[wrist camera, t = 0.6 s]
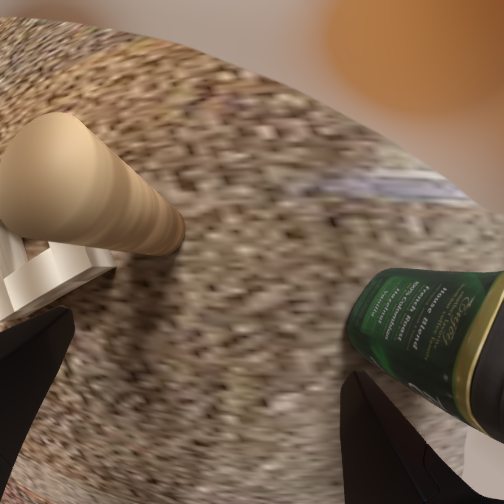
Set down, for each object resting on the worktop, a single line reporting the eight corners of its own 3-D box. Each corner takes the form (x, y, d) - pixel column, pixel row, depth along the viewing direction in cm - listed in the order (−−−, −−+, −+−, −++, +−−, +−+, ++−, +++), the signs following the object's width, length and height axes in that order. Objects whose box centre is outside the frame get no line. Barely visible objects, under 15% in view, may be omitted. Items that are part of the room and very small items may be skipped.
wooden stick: (147, 264, 23) (9, 260, 7) (128, 218, 23) (-11, 155, 7) (193, 242, 24) (109, 196, 8) (173, 195, 24) (76, 90, 8)
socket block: (26, 316, 23) (-4, 323, 18) (-5, 211, 23) (-34, 204, 18) (116, 266, 23) (91, 266, 19) (76, 152, 24) (51, 134, 19)
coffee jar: (327, 337, 23) (504, 444, 5) (380, 253, 24) (584, 216, 6) (407, 389, 23) (563, 479, 5) (451, 314, 24) (624, 335, 6)
